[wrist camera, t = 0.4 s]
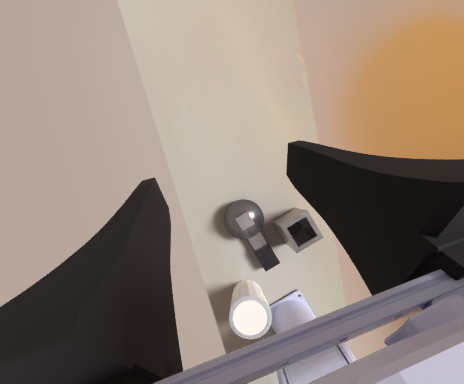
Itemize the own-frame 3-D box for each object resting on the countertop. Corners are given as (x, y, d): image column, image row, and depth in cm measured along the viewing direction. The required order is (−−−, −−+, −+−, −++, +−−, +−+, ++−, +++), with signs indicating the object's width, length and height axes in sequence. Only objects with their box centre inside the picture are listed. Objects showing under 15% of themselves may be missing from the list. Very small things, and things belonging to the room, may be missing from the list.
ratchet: (286, 253, 37) (294, 263, 32) (255, 272, 37) (258, 284, 32) (249, 192, 37) (252, 192, 32) (218, 211, 37) (216, 214, 32)
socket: (308, 230, 37) (323, 237, 31) (286, 243, 37) (296, 253, 31) (295, 207, 37) (307, 210, 31) (272, 221, 37) (280, 226, 31)
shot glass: (236, 271, 37) (237, 289, 30) (270, 283, 37) (278, 305, 30) (224, 304, 37) (222, 331, 30) (257, 317, 37) (263, 346, 30)
